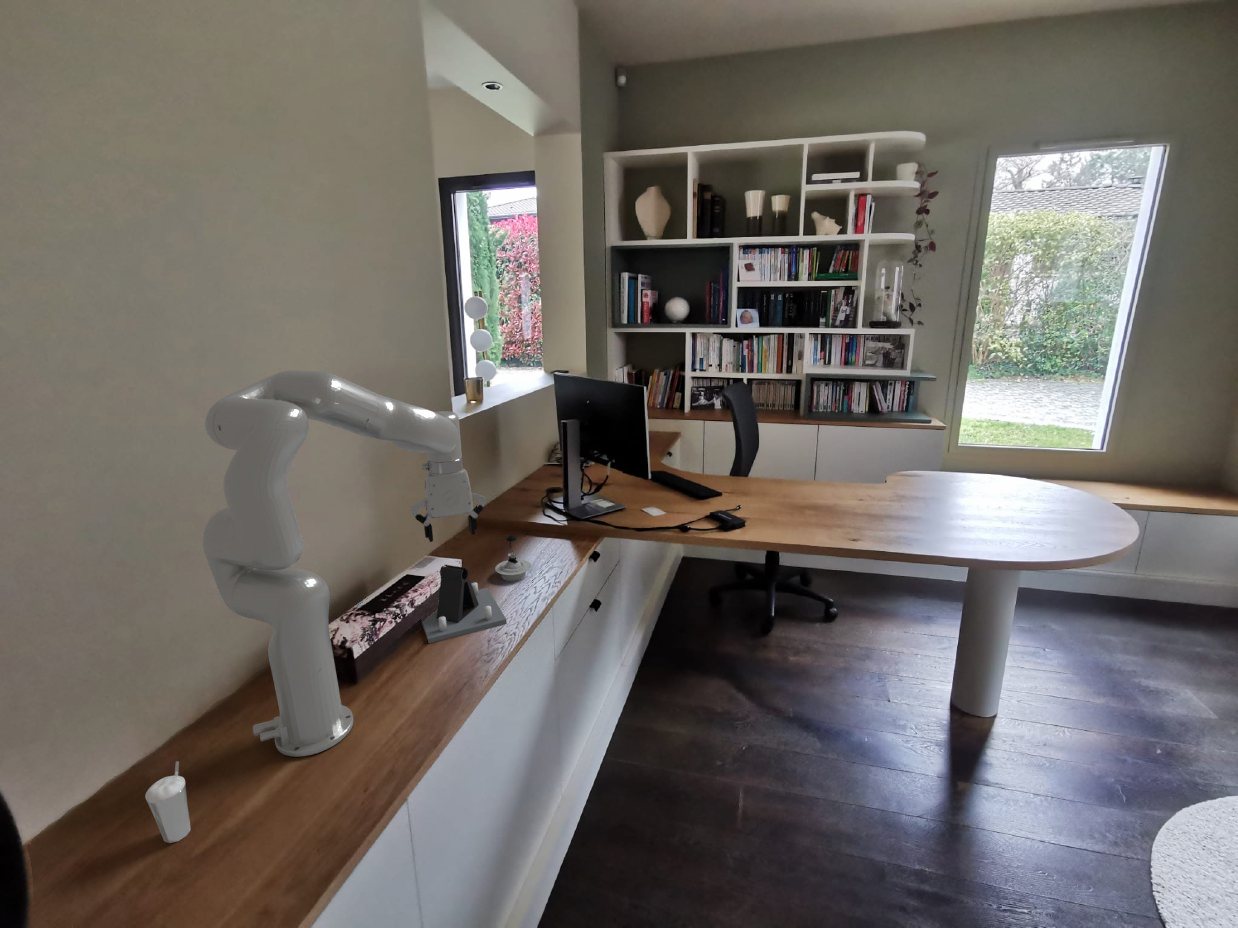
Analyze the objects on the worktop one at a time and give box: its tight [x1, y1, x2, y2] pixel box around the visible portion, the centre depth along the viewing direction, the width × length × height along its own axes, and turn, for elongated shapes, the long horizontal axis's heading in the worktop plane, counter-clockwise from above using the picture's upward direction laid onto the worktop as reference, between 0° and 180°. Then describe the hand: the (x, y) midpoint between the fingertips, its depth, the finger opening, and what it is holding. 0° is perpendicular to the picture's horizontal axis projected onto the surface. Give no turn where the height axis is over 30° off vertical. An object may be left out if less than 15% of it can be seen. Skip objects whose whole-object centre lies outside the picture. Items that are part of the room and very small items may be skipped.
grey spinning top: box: [494, 534, 532, 582], centre depth 164 cm, size 12×10×10 cm
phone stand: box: [437, 564, 479, 623], centre depth 143 cm, size 9×6×12 cm, turn 160°
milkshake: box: [145, 760, 192, 844], centre depth 86 cm, size 4×5×10 cm
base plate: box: [420, 582, 508, 644], centre depth 145 cm, size 18×18×4 cm
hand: (451, 536), depth 139 cm, fingers open, 9 cm apart
